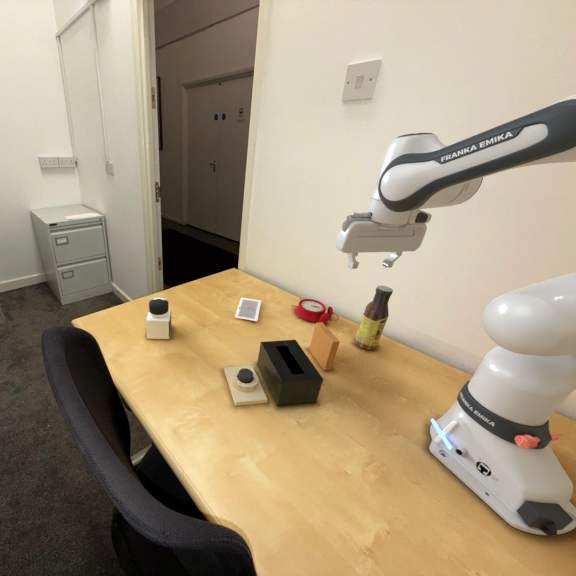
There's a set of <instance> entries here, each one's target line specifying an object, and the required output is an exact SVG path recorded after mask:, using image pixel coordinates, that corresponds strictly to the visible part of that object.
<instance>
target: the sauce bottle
mask: <svg viewBox="0 0 576 576" xmlns="http://www.w3.org/2000/svg"><path fill="white" fill-rule="evenodd" d="M393 293H394V290H393V288H391V287H389V286H386V285H377V286H376V288H375V293H374V297H373V299H372V301H370V302H369V303H368V304H366V306H365V308H364V312H363V314H362V316H361V320H360V323H359V325H358V328H357V331H356V335H355V339H354V343H355V344H356V346H357V347H358V348H361V349H363V350H367V351H371V350H375V349H376V348H377V346H378V345H379V343H380V340H381V337H382V334H383V331H384V329H385V326H386V323H387V321H388V319H389V301H390V299H391V296H392V295H393Z"/></svg>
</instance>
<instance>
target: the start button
mask: <svg viewBox="0 0 576 576" xmlns="http://www.w3.org/2000/svg"><path fill="white" fill-rule="evenodd" d="M238 379H239V380H240V381H241V382H242V383H246V384H247V383H250V382H252V379H253V372H252V371H251V370H249V369H246V368H243V369H241V370H240V371H239V375H238Z"/></svg>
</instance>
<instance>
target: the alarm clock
mask: <svg viewBox="0 0 576 576" xmlns="http://www.w3.org/2000/svg"><path fill="white" fill-rule="evenodd" d="M292 307H293V308H295V309H294V311H295V314H296V316H297V317H298V318H300V319H302V320H304V321H307V322H311V323H319V322H323V324H324V325H326V324H327V323H328V322H333V320H331V318H332V316H333V315H334V316H336V317H337V319H336V320H334V322H337V321H338V320H339V318H340V317H339V315H338V314H335V312H334V309H333V307H332V306H328V307H327V308H326V305H325V304H324V303H323V302H321V301H319V300H316V299H312V298H304V299H302V298H300V297H299V301H298V305H291V308H292Z"/></svg>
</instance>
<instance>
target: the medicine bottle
mask: <svg viewBox="0 0 576 576" xmlns="http://www.w3.org/2000/svg"><path fill="white" fill-rule="evenodd" d="M145 320H146V321H145V323H146V338H147V340H148V339H150V340H152V339H153V340H170V338H171V332H172V308H169V300H167V299H166V298H165V297H155V298H152V299H150V300H149V302H148V312H147V317H146V319H145Z"/></svg>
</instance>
